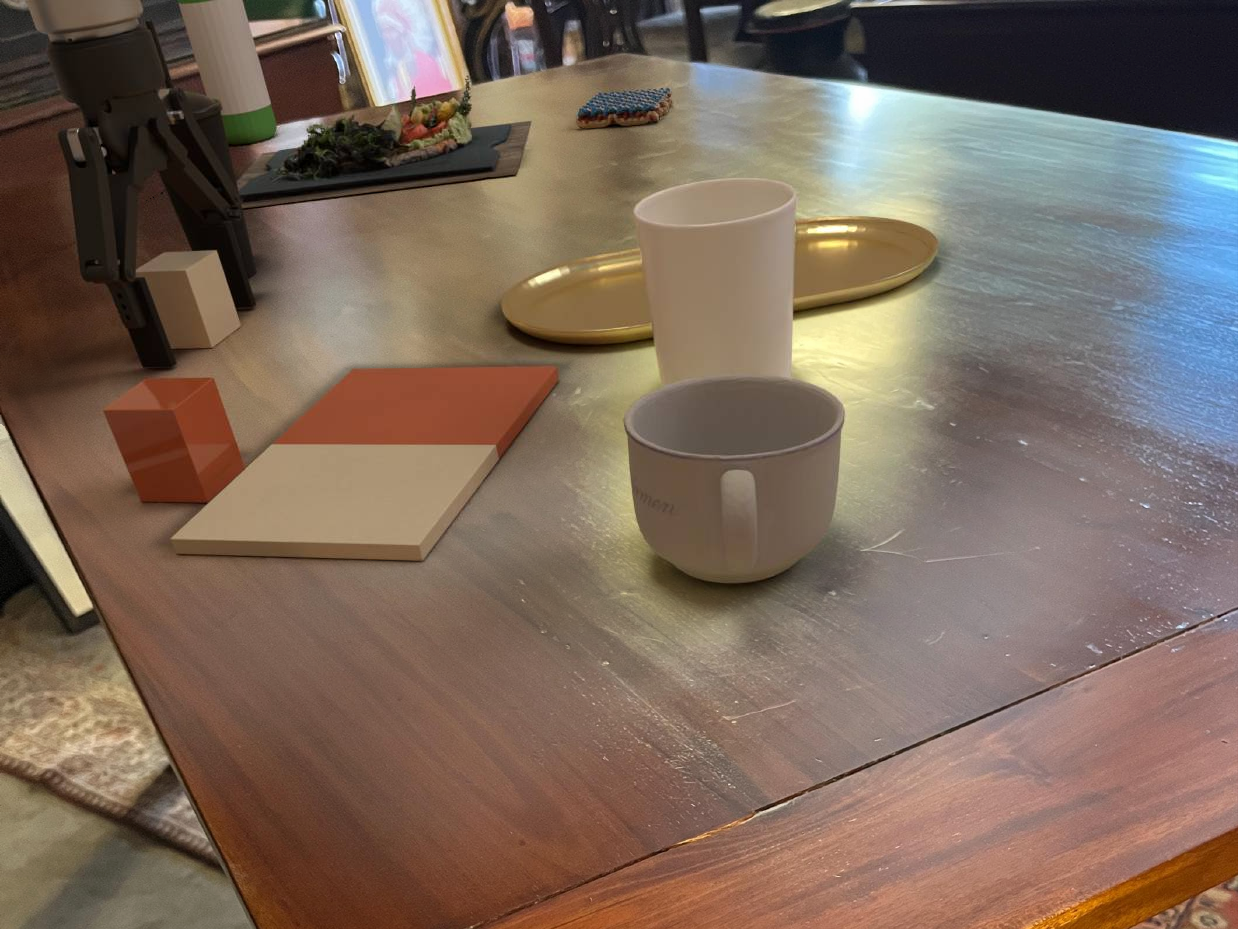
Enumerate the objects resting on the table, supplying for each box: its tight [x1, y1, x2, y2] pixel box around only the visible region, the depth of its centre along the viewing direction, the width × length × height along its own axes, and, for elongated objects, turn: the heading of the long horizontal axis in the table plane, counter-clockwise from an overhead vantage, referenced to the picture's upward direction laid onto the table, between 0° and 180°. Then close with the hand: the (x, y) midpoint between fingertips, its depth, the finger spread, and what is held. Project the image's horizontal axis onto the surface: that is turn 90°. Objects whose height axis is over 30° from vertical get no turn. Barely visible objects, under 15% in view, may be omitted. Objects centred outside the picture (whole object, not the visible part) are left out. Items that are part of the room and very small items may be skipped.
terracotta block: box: [102, 377, 246, 504], centre depth 77 cm, size 5×5×6 cm
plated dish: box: [236, 74, 532, 209], centre depth 140 cm, size 35×28×7 cm
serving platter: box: [500, 215, 939, 346], centre depth 96 cm, size 19×35×2 cm, turn 103°
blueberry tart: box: [574, 87, 674, 129], centre depth 146 cm, size 10×11×2 cm
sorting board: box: [169, 365, 560, 562], centre depth 78 cm, size 16×26×1 cm, turn 166°
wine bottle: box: [177, 0, 277, 146], centre depth 151 cm, size 8×8×30 cm
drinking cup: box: [144, 19, 257, 279], centre depth 107 cm, size 8×8×20 cm
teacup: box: [622, 374, 846, 584], centre depth 61 cm, size 14×11×8 cm
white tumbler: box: [632, 177, 798, 387], centre depth 76 cm, size 10×10×12 cm
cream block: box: [135, 250, 242, 350], centre depth 99 cm, size 5×5×6 cm
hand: (202, 335), depth 101 cm, fingers open, 13 cm apart
